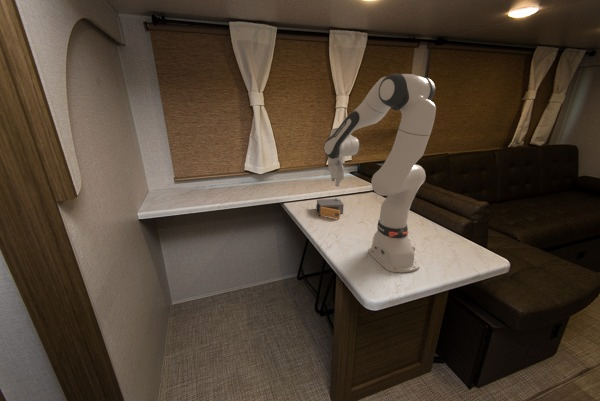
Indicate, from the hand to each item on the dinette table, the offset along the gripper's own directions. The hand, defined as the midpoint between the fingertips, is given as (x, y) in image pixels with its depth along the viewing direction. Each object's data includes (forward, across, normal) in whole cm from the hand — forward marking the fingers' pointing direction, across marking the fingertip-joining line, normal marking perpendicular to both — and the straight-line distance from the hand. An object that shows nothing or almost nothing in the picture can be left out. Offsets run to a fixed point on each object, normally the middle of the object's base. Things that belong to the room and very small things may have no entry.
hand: (335, 183), depth 143 cm
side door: (+20, -2, +3) cm, 20 cm away
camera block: (+20, +7, 0) cm, 21 cm away
